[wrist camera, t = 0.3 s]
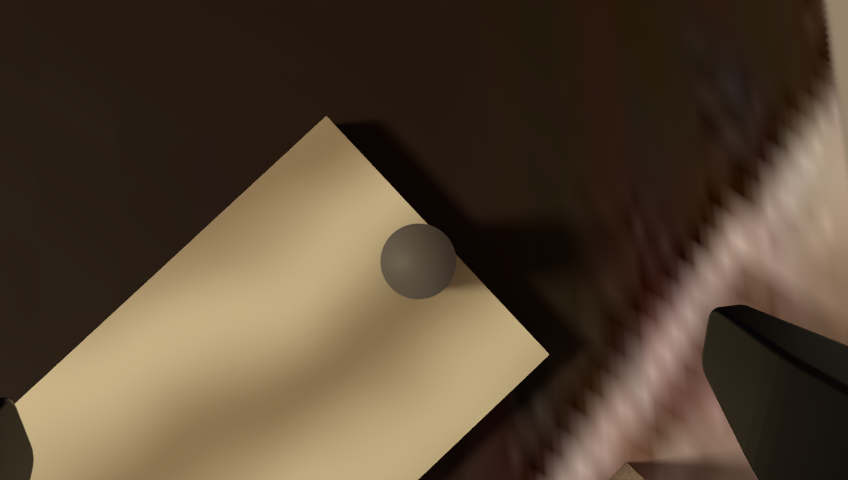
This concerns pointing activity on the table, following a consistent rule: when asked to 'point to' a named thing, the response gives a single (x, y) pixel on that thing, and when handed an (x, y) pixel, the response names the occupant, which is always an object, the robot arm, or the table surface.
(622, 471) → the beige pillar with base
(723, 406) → the robot arm
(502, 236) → the table surface
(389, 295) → the beige wooden board
